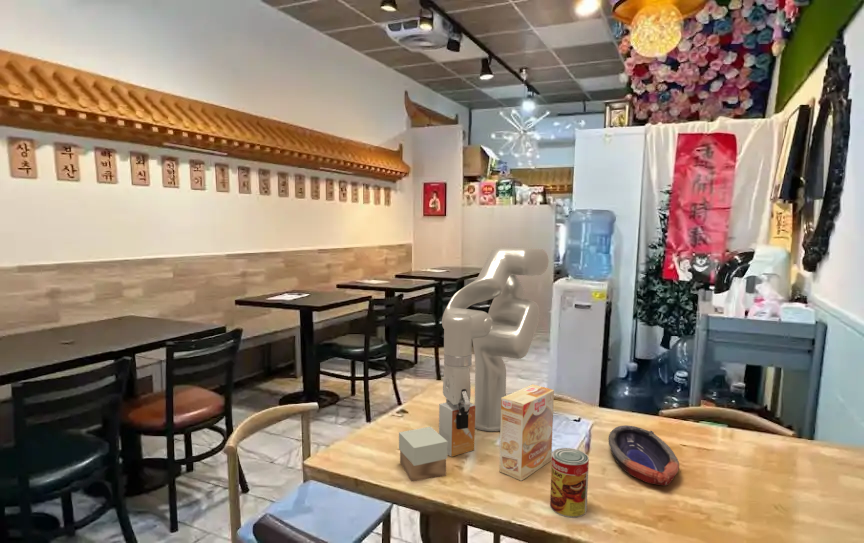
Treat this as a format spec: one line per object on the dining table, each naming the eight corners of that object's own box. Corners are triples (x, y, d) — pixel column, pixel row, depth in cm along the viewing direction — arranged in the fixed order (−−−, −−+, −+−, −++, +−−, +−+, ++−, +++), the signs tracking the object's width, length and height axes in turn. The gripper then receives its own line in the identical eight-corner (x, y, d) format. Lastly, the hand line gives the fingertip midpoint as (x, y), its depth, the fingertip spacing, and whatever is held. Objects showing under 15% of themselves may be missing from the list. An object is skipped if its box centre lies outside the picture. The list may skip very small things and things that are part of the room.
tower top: (430, 442, 139) (430, 426, 138) (447, 458, 130) (447, 441, 129) (398, 448, 135) (398, 432, 134) (414, 465, 126) (414, 448, 125)
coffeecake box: (521, 481, 127) (523, 404, 125) (497, 471, 132) (499, 397, 130) (552, 460, 138) (555, 389, 136) (529, 452, 143) (531, 383, 141)
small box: (451, 457, 139) (451, 410, 138) (438, 448, 144) (438, 403, 143) (475, 450, 144) (476, 404, 142) (461, 442, 149) (462, 397, 147)
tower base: (432, 459, 139) (432, 443, 139) (445, 477, 130) (446, 459, 129) (400, 464, 136) (400, 447, 136) (411, 482, 127) (411, 465, 126)
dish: (655, 440, 151) (656, 423, 151) (693, 496, 121) (694, 476, 120) (599, 437, 153) (600, 420, 153) (624, 491, 123) (625, 471, 122)
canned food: (545, 498, 119) (547, 448, 118) (579, 497, 120) (581, 447, 119) (556, 518, 112) (558, 464, 110) (592, 516, 112) (594, 463, 111)
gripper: (434, 352, 148) (434, 412, 150) (455, 370, 132) (454, 437, 134) (459, 350, 150) (458, 409, 152) (483, 367, 134) (481, 433, 136)
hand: (456, 422), depth 143 cm, fingers closed on small box, 7 cm apart
